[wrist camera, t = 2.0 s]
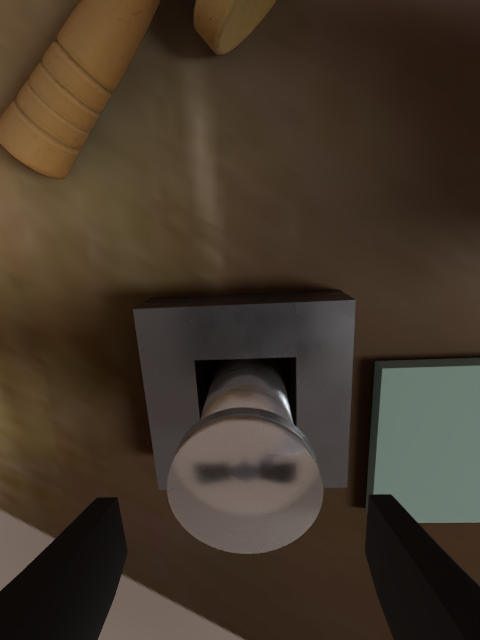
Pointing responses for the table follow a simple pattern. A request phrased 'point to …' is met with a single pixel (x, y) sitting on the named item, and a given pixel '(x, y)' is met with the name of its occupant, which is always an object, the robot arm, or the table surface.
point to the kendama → (100, 73)
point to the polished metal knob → (245, 464)
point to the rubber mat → (427, 438)
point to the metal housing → (247, 343)
